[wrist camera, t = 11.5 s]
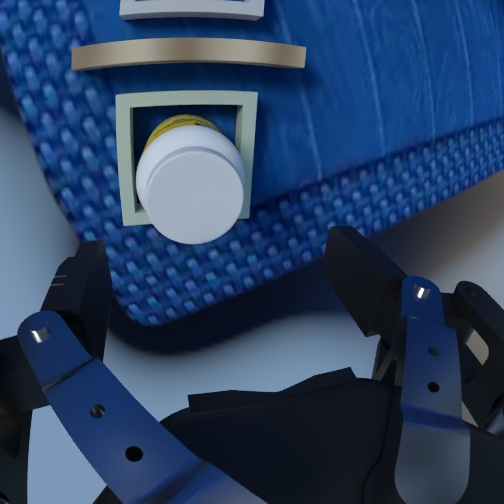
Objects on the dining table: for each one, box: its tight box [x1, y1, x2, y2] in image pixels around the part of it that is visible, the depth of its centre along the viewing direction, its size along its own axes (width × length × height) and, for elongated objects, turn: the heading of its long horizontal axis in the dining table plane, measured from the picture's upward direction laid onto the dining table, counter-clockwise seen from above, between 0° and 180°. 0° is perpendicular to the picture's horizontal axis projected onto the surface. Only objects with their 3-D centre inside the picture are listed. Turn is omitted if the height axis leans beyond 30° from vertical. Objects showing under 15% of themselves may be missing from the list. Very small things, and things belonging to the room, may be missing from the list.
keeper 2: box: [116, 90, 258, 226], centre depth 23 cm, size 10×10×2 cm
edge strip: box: [72, 38, 306, 71], centre depth 19 cm, size 16×2×3 cm, turn 86°
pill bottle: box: [136, 114, 245, 244], centre depth 19 cm, size 6×6×11 cm
